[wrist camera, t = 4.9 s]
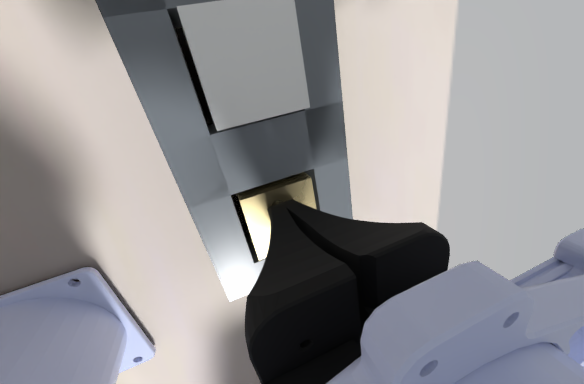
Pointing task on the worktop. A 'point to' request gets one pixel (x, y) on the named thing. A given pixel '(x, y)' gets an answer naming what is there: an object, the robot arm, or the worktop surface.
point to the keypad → (235, 128)
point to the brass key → (268, 195)
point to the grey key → (246, 58)
